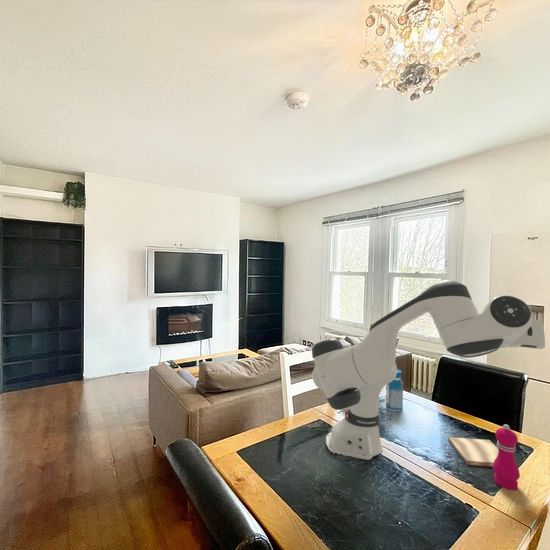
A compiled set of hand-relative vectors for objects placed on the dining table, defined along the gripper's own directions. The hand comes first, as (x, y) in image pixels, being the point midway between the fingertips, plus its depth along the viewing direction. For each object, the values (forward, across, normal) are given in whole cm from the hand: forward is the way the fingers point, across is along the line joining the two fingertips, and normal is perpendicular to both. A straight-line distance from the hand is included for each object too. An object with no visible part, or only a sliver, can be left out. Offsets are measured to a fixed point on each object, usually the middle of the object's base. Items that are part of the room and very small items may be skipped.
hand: (491, 340), depth 86 cm
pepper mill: (+40, +9, -39) cm, 56 cm away
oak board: (+54, +2, -33) cm, 63 cm away
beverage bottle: (+77, -33, -25) cm, 88 cm away
